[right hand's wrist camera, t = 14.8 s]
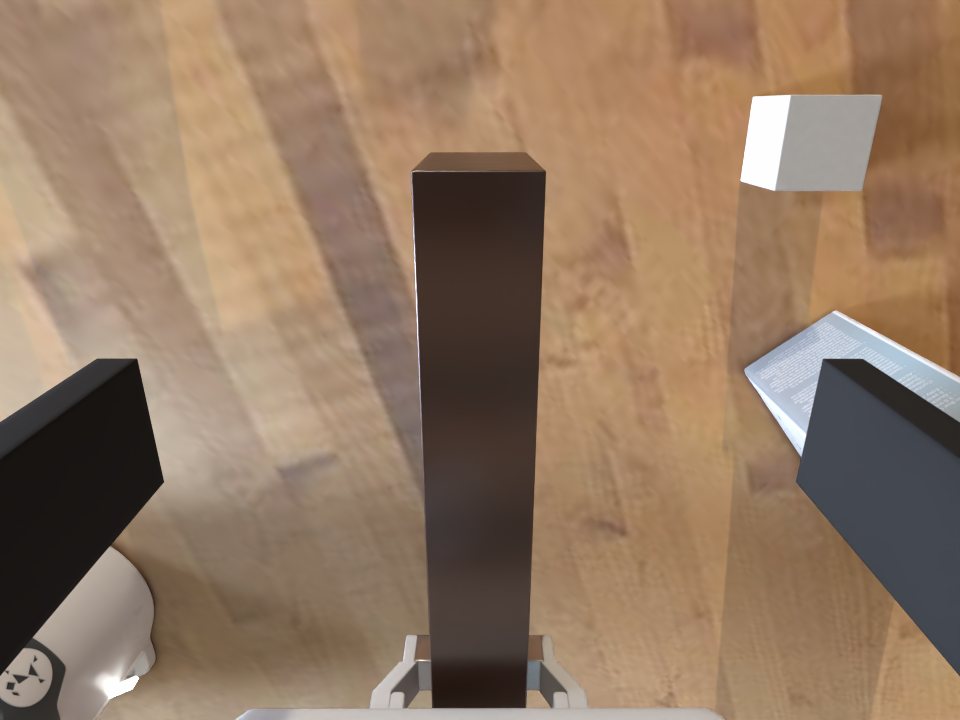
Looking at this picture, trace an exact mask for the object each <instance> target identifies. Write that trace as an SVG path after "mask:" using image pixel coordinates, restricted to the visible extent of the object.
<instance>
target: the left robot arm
mask: <svg viewBox="0 0 960 720" xmlns="http://www.w3.org/2000/svg"><path fill="white" fill-rule="evenodd" d="M153 619H154V604H153V599H152V595H151V592H150V590H149V587H148V585H147V583H146V582H145V580H144V578H143V577H142V575H141V574H140V573H139V571H138V570H137V569H136V568H135V566H134V565H133V564H132V563H131V562H130V561H129V560H128V559H127V558H125V557H124V556H123V555H122V554H121V553H119V552H118V551H117V550H115V549H114V548H112V547H111V546H110V547H109V548H108V549H107V550H106V551H105V553H104V554H103V555H102V556H101V557H100V558H99V560H98V561H97V562H96V563H95V564H94V566H93V567H92V568H91V569H90V570H89V571H88V573H87V574H86V575H85V576H84V577H83V579H82V580H81V581H80V582H79V583H78V585H77V586H76V587H75V588H74V589H73V590H72V592H71V593H70V594H69V595H68V596H67V598H66V599H65V600H64V601H63V602H62V603H61V605H60V606H59V607H58V608H57V609H56V611H55V612H54V613H53V614H52V615H51V617H50V618H49V619H48V620H47V621H46V622H45V624H44V625H43V626H42V627H41V628H40V630H39V631H38V632H37V633H36V634H35V635H34V637H33V638H32V639H31V640H30V641H29V643H28V644H27V645H26V646H25V647H24V649H23V650H22V651H21V652H20V653H19V654H18V656H17V657H16V658H15V659H14V660H13V662H12V663H11V664H10V665H9V666H8V667H7V669H6V670H5V671H4V672H3V673H2V675H1V676H0V720H96V719H97V718H98V716H99V715H100V713H101V712H102V711H103V709H104V708H105V706H106V705H107V704H108V702H109V701H110V699H111V698H112V697H114V696H117V695H119V694H122V693H124V692H126V691H129V690H131V689H133V687H134V686H135V684H136V682H137V681H138V679H139V678H138V677H140V676H142V675H144V674H146V673H147V672H148V671H149V670H150V669H151V667H152V666H153V665H154V663H155V660H156V657H155V652H154V648H153V645H152V642H151V639H150V634H151V628H152V624H153ZM419 690H432V689H431V664H430V638H429V635H407V637H406V643H405V651H404V658H403V662H399V663H398V665H397V666H396V667H395V668H394V669H393V670H392V671H391V672H390V673H389V674H388V675H387V676H386V677H385V679H384V680H383V681H382V682H381V683H380V684H379V685H378V686H377V687H376V688H375V689H374V690H373V692H372V697H371V702H370V708H258V709H251V710H248V711H247V712H245V713H244V714H242V715H241V716H240V717H238V718H237V719H236V720H726V719H725V718H723V717H722V716H721V715H719V714H718V713H716V712H715V711H713V710H712V709H709V708H589V707H588V701H587V696H586V691H585V690H584V689H583V688H582V687H581V686H580V685H579V684H578V682H577V681H576V680H575V679H574V678H573V677H572V676H571V675H570V674H569V673H568V672H567V671H566V670H565V668H564V667H563V666H562V665H561V664H560V663H559V662H558V661H555V656H554V649H553V642H552V636H551V635H529V645H528V672H527V690H540V692H541V694H542V695H543V697H544V698H545V699H546V701H547V702H548V703H549V705H550V706H551V708H407V707H408V706H409V704H410V703H411V701H412V700H413V699H414V697H415V696H416V695H417V693H418V692H419Z"/></svg>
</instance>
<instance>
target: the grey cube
mask: <svg viewBox="0 0 960 720" xmlns="http://www.w3.org/2000/svg"><path fill="white" fill-rule="evenodd" d="M882 97H883V95H775V96H754V97H753V100H752V107H751V114H750V120H749V127H748V134H747V141H746V147H745V154H744V161H743V168H742V175H741V182H745V183H748V184H752V185H756V186H759V187H763V188H766V189H770V190H774V191H861V190H862V189H863V184H864V180H865V175H866V170H867V166H868V161H869V157H870V152H871V148H872V143H873V138H874V134H875V129H876V125H877V120H878V115H879V111H880V106H881V102H882Z"/></svg>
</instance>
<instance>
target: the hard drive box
mask: <svg viewBox="0 0 960 720" xmlns="http://www.w3.org/2000/svg"><path fill="white" fill-rule="evenodd" d="M823 359H864V360H866V361H867V362H869V363H870V364H872V365H873V366H875V367H876V368H878V369H879V370H881V371H882V372H884V373H885V374H887V375H888V376H890V377H892V378H893V379H895V380H896V381H898V382H899V383H901V384H902V385H904V386H905V387H907V388H908V389H910V390H911V391H913V392H914V393H916V394H917V395H919V396H921V397H922V398H924V399H925V400H927V401H928V402H930V403H931V404H933V405H934V406H936V407H937V408H939V409H940V410H942V411H943V412H945V413H946V414H948V415H949V416H951V417H953V418H954V419H956V420H957V421H959V422H960V377H959V376H957V375H955V374H953V373H951V372H950V371H948V370H946V369H944V368H942V367H940V366H939V365H937V364H935V363H933V362H931V361H929V360H927V359H926V358H924V357H922V356H920V355H918V354H916V353H914V352H913V351H911V350H909V349H907V348H905V347H903V346H902V345H900V344H898V343H896V342H894V341H892V340H891V339H889V338H887V337H885V336H883V335H881V334H879V333H878V332H876V331H874V330H872V329H870V328H868V327H866V326H864V325H863V324H861V323H859V322H857V321H855V320H854V319H852V318H850V317H848V316H846V315H844V314H842V313H841V312H839V311H833V312H832V313H830V314H828V315H827V316H825V317H824V318H822V319H821V320H819V321H817V322H816V323H814V324H813V325H811V326H810V327H808V328H807V329H805V330H803V331H802V332H800V333H799V334H797V335H795V336H794V337H792V338H791V339H789V340H788V341H786V342H785V343H783V344H782V345H780V346H778V347H777V348H775V349H774V350H772V351H771V352H769V353H768V354H766V355H765V356H763V357H762V358H760V359H759V360H757V361H756V362H754V363H752V364H751V365H749V366H748V367H747V368H745V373H746V375H747V377H748V378H749V380H750V381H751V383H752V384H753V386H754V387H755V389H756V390H757V391H758V393H759V394H760V396H761V397H762V399H763V401H764V402H765V404H766V405H767V407H768V408H769V409H770V411H771V412H772V414H773V415H774V417H775V418H776V420H777V421H778V423H779V424H780V426H781V427H782V429H783V430H784V432H785V433H786V435H787V437H788V438H789V440H790V441H791V442H792V444H793V445H794V447H795V448H796V450H797V451H798V453H799V454H800V456H801V457H802V452H803V448H804V443H805V438H806V434H807V429H808V425H809V420H810V415H811V411H812V406H813V402H814V397H815V392H816V388H817V383H818V379H819V374H820V369H821V365H822V360H823Z"/></svg>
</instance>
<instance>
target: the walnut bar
mask: <svg viewBox="0 0 960 720" xmlns="http://www.w3.org/2000/svg"><path fill="white" fill-rule="evenodd" d="M545 184H546V171H545V170H544V169H543V168H542V167H541V166H540V165H539V164H538V163H537V162H535V161H534V160H533V159H532V158H531V157H530V156H529V155H528V154H527V153H525V152H470V153H430V154H429V155H428V156H427V157H426V158H424V159H423V160H422V161H421V162H420V163H419V164H418V165H417V166H416V167H415V168H414V169H413V170H412V171H411V187H412V212H413V237H414V262H415V287H416V312H417V337H418V362H419V388H420V413H421V438H422V463H423V488H424V513H425V538H426V563H427V588H428V613H429V638H430V664H431V689H432V708H526V699H527V672H528V645H529V618H530V591H531V564H532V536H533V509H534V482H535V455H536V428H537V401H538V374H539V347H540V320H541V293H542V266H543V239H544V211H545Z"/></svg>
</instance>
